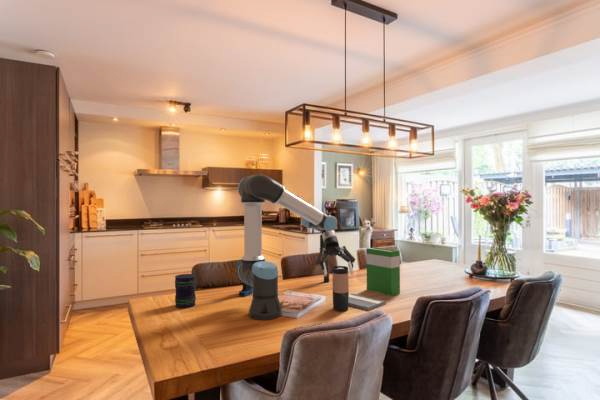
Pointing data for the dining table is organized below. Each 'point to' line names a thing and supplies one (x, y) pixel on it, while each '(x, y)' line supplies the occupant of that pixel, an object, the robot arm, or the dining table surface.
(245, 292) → the handheld scanner
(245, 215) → the robot arm
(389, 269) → the hardback book
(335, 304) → the travel mug
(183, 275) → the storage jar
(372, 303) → the grey book
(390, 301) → the dining table surface
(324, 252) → the potato masher grenade
